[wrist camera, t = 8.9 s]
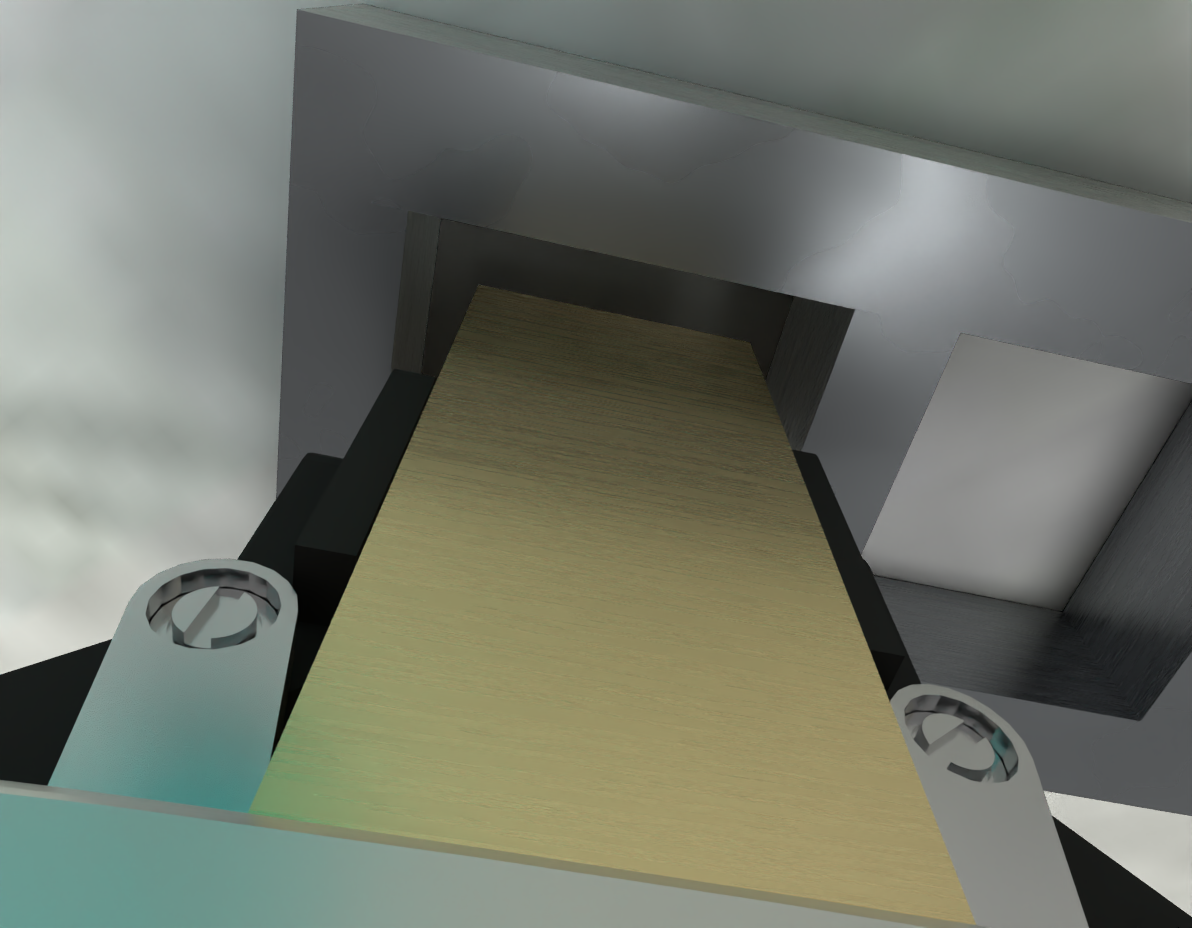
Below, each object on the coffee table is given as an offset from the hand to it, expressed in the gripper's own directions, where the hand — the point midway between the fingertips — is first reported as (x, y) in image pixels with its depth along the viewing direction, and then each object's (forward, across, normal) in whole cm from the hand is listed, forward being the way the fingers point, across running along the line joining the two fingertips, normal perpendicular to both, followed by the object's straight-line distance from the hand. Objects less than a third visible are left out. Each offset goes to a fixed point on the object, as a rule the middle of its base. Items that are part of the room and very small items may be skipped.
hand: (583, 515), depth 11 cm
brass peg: (+2, 0, 0) cm, 2 cm away
